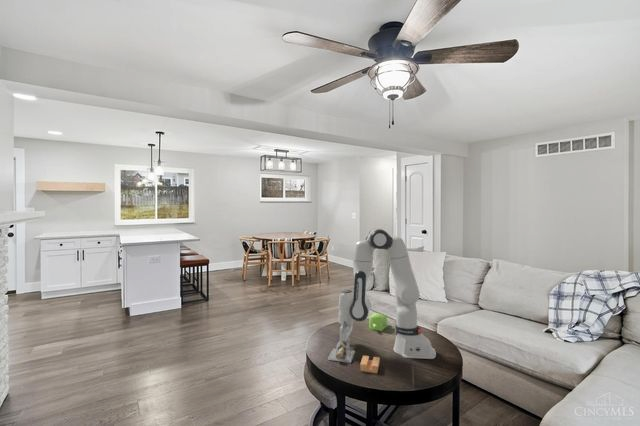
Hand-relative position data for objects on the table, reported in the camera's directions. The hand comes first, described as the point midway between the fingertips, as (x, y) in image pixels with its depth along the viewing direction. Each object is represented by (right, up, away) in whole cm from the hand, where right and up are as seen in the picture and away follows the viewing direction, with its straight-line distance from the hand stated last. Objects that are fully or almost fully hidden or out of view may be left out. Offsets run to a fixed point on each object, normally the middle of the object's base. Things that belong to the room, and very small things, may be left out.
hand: (346, 343), depth 184 cm
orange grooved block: (+10, -3, -24) cm, 26 cm away
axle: (-3, -1, -12) cm, 13 cm away
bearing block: (-3, -3, -12) cm, 13 cm away
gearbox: (+24, -3, +29) cm, 37 cm away
